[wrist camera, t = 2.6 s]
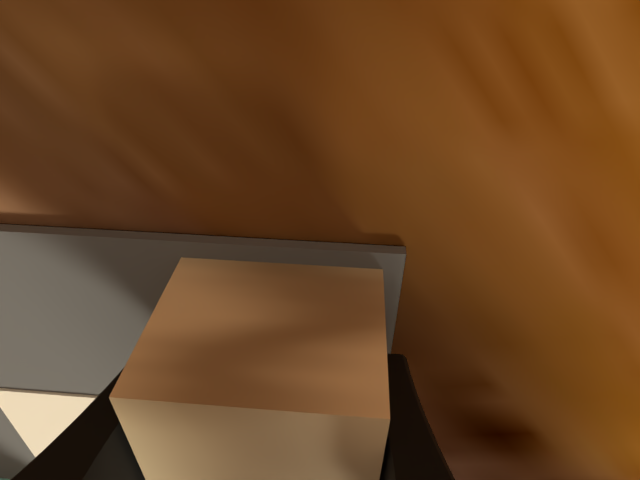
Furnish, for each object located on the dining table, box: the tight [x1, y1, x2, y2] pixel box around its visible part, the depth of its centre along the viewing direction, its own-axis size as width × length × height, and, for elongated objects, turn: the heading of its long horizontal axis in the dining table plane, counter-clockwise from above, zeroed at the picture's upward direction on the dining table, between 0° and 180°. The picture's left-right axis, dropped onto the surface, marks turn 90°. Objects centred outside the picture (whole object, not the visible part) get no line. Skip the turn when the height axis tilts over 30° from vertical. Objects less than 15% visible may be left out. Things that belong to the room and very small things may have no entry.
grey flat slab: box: [0, 224, 406, 479], centre depth 17 cm, size 18×18×1 cm
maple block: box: [109, 257, 390, 480], centre depth 11 cm, size 5×5×4 cm
